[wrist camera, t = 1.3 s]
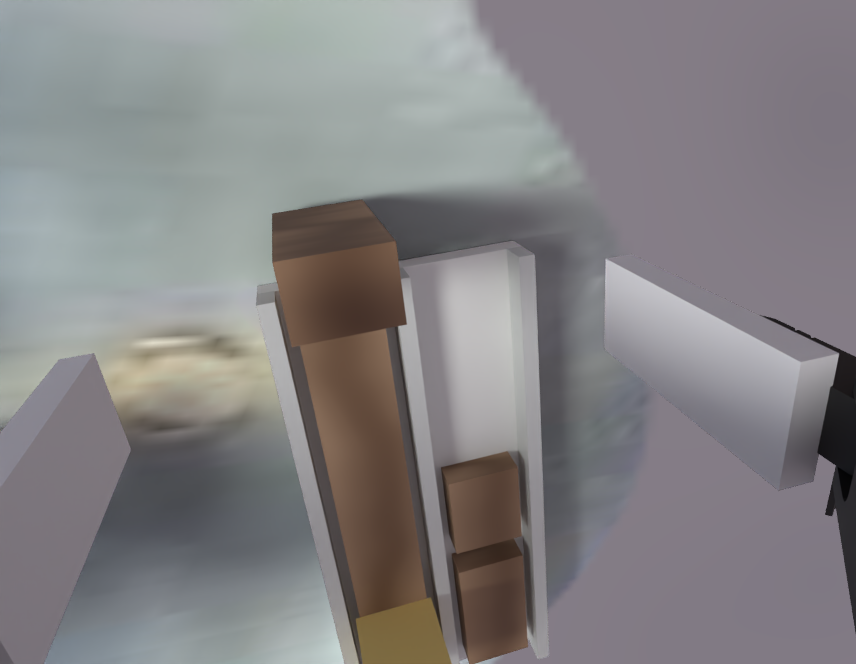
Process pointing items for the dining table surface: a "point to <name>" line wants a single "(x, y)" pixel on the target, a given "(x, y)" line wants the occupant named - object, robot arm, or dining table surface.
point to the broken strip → (487, 554)
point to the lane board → (437, 419)
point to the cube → (403, 636)
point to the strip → (354, 386)
